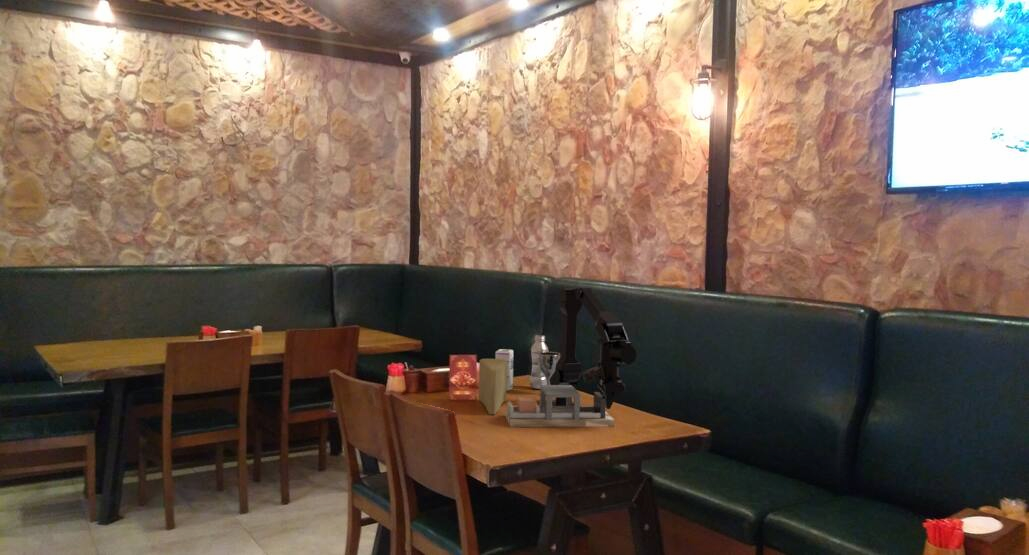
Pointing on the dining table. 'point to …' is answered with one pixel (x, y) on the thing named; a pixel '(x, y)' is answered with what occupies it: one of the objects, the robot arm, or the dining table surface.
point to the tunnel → (559, 391)
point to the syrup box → (508, 356)
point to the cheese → (492, 383)
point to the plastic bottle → (537, 374)
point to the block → (526, 405)
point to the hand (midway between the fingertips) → (607, 408)
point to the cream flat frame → (561, 421)
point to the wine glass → (548, 363)
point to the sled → (597, 408)
